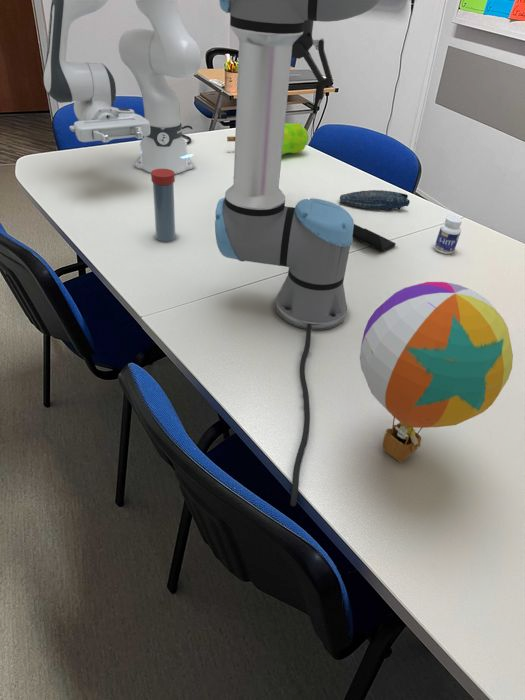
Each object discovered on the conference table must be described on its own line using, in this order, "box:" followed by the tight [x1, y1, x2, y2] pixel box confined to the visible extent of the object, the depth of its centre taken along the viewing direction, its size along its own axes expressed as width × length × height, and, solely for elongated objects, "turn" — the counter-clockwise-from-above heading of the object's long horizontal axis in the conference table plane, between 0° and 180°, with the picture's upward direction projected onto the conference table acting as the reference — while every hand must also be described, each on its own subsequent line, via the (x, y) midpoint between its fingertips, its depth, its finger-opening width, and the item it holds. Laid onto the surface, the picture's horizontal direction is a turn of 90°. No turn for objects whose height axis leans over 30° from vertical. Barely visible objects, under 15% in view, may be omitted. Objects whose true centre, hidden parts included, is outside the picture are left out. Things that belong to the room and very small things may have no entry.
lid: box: [150, 169, 176, 185], centre depth 124 cm, size 6×6×2 cm
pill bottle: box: [434, 215, 463, 255], centre depth 137 cm, size 5×5×9 cm
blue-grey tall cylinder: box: [152, 182, 176, 243], centre depth 129 cm, size 5×5×16 cm
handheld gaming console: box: [352, 223, 396, 253], centre depth 138 cm, size 12×7×10 cm
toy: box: [359, 281, 514, 463], centre depth 73 cm, size 20×20×30 cm
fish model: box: [339, 189, 411, 211], centre depth 158 cm, size 7×21×5 cm, turn 84°
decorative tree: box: [226, 122, 309, 156], centre depth 188 cm, size 18×10×30 cm
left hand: (123, 137), depth 137 cm, fingers open, 8 cm apart
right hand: (288, 109), depth 135 cm, fingers open, 13 cm apart
